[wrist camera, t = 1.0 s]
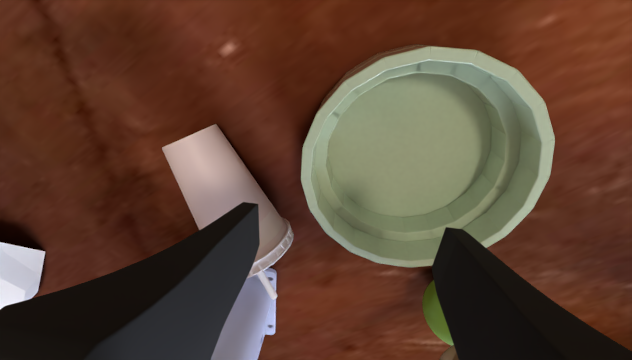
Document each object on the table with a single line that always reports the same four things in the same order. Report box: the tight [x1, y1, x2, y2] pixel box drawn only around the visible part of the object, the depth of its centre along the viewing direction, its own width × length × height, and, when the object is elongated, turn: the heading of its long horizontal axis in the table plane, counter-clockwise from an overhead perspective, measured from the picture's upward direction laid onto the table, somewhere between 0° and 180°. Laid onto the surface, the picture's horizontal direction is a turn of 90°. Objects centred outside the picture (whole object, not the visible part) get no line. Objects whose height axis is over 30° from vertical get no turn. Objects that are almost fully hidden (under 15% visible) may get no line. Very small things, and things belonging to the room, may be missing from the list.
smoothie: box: [162, 124, 294, 300], centre depth 20 cm, size 6×6×14 cm
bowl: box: [301, 44, 555, 267], centre depth 17 cm, size 13×13×4 cm
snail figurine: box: [422, 280, 459, 360], centre depth 19 cm, size 5×6×12 cm
